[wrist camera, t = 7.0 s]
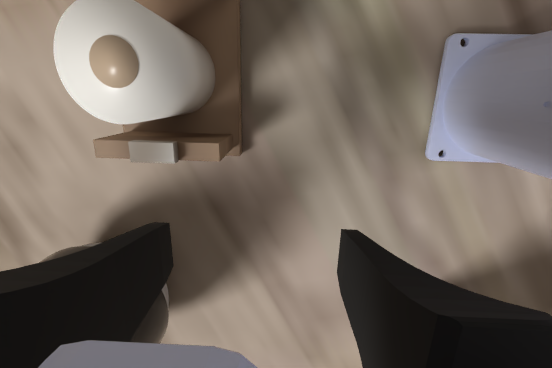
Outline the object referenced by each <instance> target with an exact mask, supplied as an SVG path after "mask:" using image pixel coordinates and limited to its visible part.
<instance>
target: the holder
mask: <svg viewBox="0 0 552 368" xmlns="http://www.w3.org/2000/svg"><path fill="white" fill-rule="evenodd" d="M135 1H136V2H138V3H139V4H141V5H142V6H144V7H146V8H147V9H149V10H150V11H152V12H154V13H155V14H157V15H158V16H160V17H162V18H163V19H165V20H166V21H168V22H170V23H171V24H173V25H174V26H176V27H177V28H179V29H181V30H182V31H184V32H185V33H187V34H189V35H190V36H192V37H193V38H195V39H196V40H198V41H199V42H200V43H201V44H202V45H203V46H204V47H205V49H206V50H207V51H208V53H209V55H210V56H211V59H212V61H213V64H214V69H215V85H214V89H213V92H212V95H211V97H210V98H209V100H208V101H207V102H206V104H205V105H204V106H202V107H201V108H200V109H198V110H197V111H194V112H192V113H188V114H183V115H178V116H172V117H167V118H161V119H156V120H150V121H145V122H139V123H134V124H123V130H124V133H121V134H116V135H112V136H108V137H103V138H99V139H95V140H93V143H94V149H95V155H96V158H125V159H130V160H131V162H144V163H176V162H178V161H179V160H190V161H220V160H221V159H222V158H223V157H224V156H240V155H241V154H242V120H241V38H240V0H135Z"/></svg>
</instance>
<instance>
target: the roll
mask: <svg viewBox="0 0 552 368" xmlns="http://www.w3.org/2000/svg"><path fill="white" fill-rule="evenodd" d="M54 59H55V64H56V68H57V71H58V74H59V76H60V79H61V81H62V83H63V85H64V87H65V88H66V90H67V91H68V93H69V94H70V96H71V97H72V98H73V99H74V100H75V101H76V102H77V104H79V105H80V106H81V107H82V108H83V109H84V110H86V111H87V112H88V113H90V114H91V115H93V116H95V117H97V118H99V119H101V120H104V121H107V122H110V123H115V124H134V123H139V122H145V121H150V120H156V119H161V118H167V117H172V116H178V115H183V114H188V113H192V112H194V111H197V110H198V109H200V108H201V107H202V106H204V105H205V104H206V102H207V101H208V100H209V98H210V97H211V95H212V92H213V89H214V85H215V69H214V64H213V61H212V59H211V56H210V55H209V53H208V51H207V50H206V49H205V47H204V46H203V45H202V44H201V43H200V42H199V41H198V40H196V39H195V38H193V37H192V36H190V35H189V34H187V33H185V32H184V31H182V30H181V29H179V28H177V27H176V26H174V25H173V24H171V23H170V22H168V21H166V20H165V19H163V18H162V17H160V16H158V15H157V14H155V13H154V12H152V11H150V10H149V9H147V8H146V7H144V6H142V5H141V4H139V3H138V2H136V1H135V0H76V1H75V2H74V3H73V4H71V5H70V6H69V7H68V8H67V9H66V11H65V12H64V14H63V15H62V17H61V18H60V21H59V23H58V25H57V28H56V31H55V37H54Z"/></svg>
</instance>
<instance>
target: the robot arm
mask: <svg viewBox="0 0 552 368" xmlns="http://www.w3.org/2000/svg"><path fill="white" fill-rule="evenodd" d="M461 39H464V40H465V45H464V46H463V47H462V46H461V45H460V41H461ZM441 150H443V154H442V155H441V156H439V155H438V153H439V152H440V151H441ZM425 155H426V157H427V158H428V159H430V160H433V161H464V162H497V163H502V164H505V165H508V166H511V167H515V168H518V169H521V170H524V171H527V172H530V173H534V174H537V175H540V176H543V177H546V178H549V179H552V30H550V31H546V32H542V33H538V34H534V35H531V34H476V33H456V34H452V35H451V36H449V37H448V38H447V39H446V42H445V47H444V52H443V58H442V63H441V69H440V74H439V80H438V85H437V91H436V96H435V102H434V107H433V113H432V118H431V124H430V129H429V135H428V140H427V146H426V151H425ZM172 267H173V257H172V246H171V236H170V226H169V223H158V222H155V223H151V224H147V225H145V226H142V227H139V228H137V229H134V230H132V231H130V232H127V233H125V234H122V235H120V236H118V237H115V238H113V239H110V240H108V241H105V242H102V243H100V244H97V245H95V246H92V247H89V248H87V249H84V250H81V251H78V252H75V253H72V254H69V255H66V256H62V257H59V258H56V259H52V260H49V261H45V262H41V263H37V264H32V265H28V266H24V267H20V268H16V269H11V270H6V271H1V272H0V368H257V367H256V366H255V365H254V364H252V363H251V362H250V361H249V360H247V359H246V358H245V357H244V356H243V355H241V354H240V353H238V352H234V351H230V350H226V349H222V348H218V347H215V346H199V345H178V344H158V343H137V342H130V340H131V338H132V336H133V335H134V333H135V331H136V330H137V328H138V327H139V325H140V323H141V322H142V320H143V319H144V317H145V316H146V314H147V313H148V311H149V309H150V308H151V306H152V305H153V303H154V302H155V300H156V298H157V297H158V295H159V294H160V292H161V290H162V289H163V287H164V285H165V283H166V281H167V279H168V277H169V275H170V272H171V270H172ZM337 275H338V281H339V286H340V292H341V296H342V299H343V302H344V305H345V308H346V311H347V314H348V317H349V321H350V324H351V327H352V330H353V333H354V336H355V339H356V342H357V345H358V349H359V353H360V357H361V361H362V366H363V368H552V316H551V315H549V314H548V313H545V312H541V311H537V310H533V309H529V308H525V307H522V306H518V305H514V304H510V303H506V302H502V301H499V300H496V299H493V298H489V297H486V296H483V295H480V294H477V293H474V292H471V291H468V290H466V289H463V288H460V287H458V286H455V285H453V284H450V283H448V282H445V281H443V280H441V279H438V278H436V277H434V276H432V275H430V274H428V273H426V272H424V271H422V270H420V269H418V268H416V267H414V266H412V265H410V264H408V263H407V262H405V261H403V260H402V259H400V258H398V257H397V256H395V255H393V254H392V253H390V252H389V251H387V250H386V249H384V248H383V247H381V246H380V245H378V244H377V243H376V242H374V241H373V240H371V239H370V238H368V237H367V236H366V235H364V234H363V233H361V232H359V231H358V230H347V229H341V238H340V248H339V258H338V268H337Z"/></svg>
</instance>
